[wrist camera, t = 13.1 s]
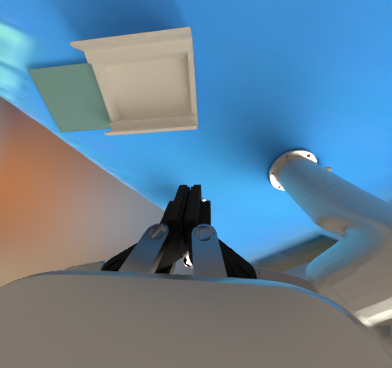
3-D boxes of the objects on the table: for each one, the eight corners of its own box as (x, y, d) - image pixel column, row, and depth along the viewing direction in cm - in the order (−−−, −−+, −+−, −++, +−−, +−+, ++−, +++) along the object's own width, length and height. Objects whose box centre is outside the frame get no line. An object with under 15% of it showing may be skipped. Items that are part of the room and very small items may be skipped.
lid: (102, 63, 32) (97, 61, 30) (122, 126, 38) (118, 127, 36) (36, 71, 33) (27, 69, 31) (66, 130, 39) (60, 132, 38)
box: (193, 43, 29) (190, 26, 22) (198, 123, 36) (197, 129, 30) (99, 54, 30) (69, 42, 24) (122, 129, 38) (105, 135, 31)
